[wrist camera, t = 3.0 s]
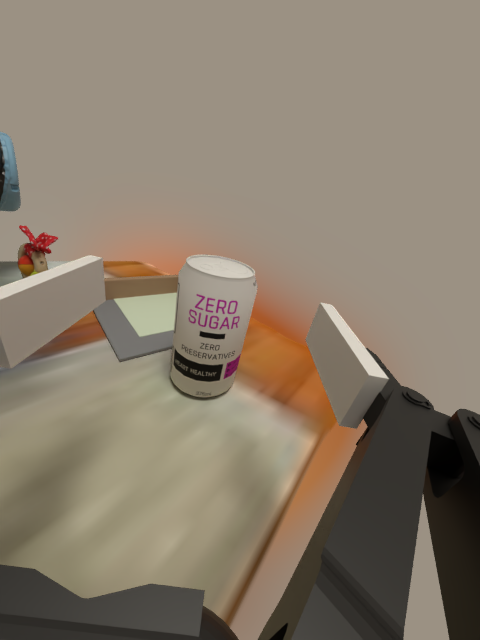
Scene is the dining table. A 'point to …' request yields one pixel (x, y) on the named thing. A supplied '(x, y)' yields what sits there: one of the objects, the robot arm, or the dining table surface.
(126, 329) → the corner arena
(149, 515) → the dining table surface
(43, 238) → the bird rattle
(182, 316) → the supplement can
